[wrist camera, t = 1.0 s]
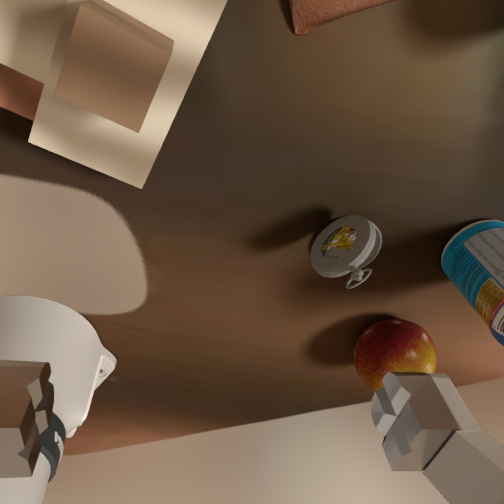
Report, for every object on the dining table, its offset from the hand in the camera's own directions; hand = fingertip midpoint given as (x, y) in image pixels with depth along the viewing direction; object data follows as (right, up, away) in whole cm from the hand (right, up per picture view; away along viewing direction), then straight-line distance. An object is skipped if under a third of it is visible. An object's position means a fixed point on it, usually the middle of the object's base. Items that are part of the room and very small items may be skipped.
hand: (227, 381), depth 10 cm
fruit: (+17, -7, +43) cm, 47 cm away
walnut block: (-8, +16, +17) cm, 25 cm away
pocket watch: (+10, +5, +33) cm, 35 cm away
